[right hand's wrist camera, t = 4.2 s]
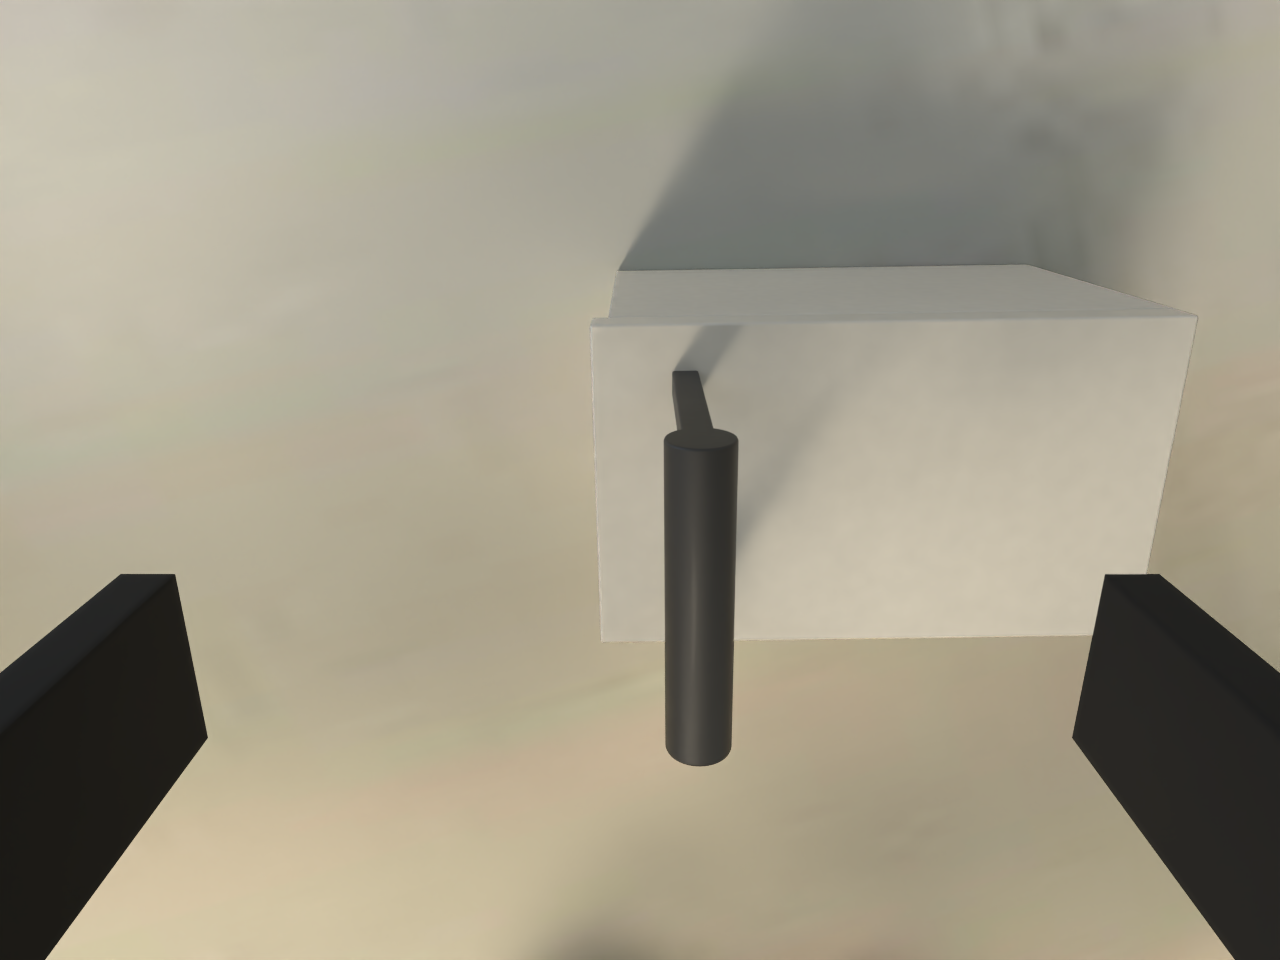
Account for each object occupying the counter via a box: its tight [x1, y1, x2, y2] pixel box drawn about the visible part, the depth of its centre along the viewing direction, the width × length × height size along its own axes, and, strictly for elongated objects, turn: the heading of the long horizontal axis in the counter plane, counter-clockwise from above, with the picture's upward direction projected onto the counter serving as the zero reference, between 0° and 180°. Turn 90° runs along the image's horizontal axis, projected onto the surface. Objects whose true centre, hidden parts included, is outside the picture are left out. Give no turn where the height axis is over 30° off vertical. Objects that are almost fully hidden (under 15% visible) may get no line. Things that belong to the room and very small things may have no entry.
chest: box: [608, 264, 1173, 318], centre depth 31 cm, size 15×10×10 cm, turn 91°
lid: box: [590, 309, 1198, 766], centre depth 22 cm, size 16×10×8 cm, turn 91°
